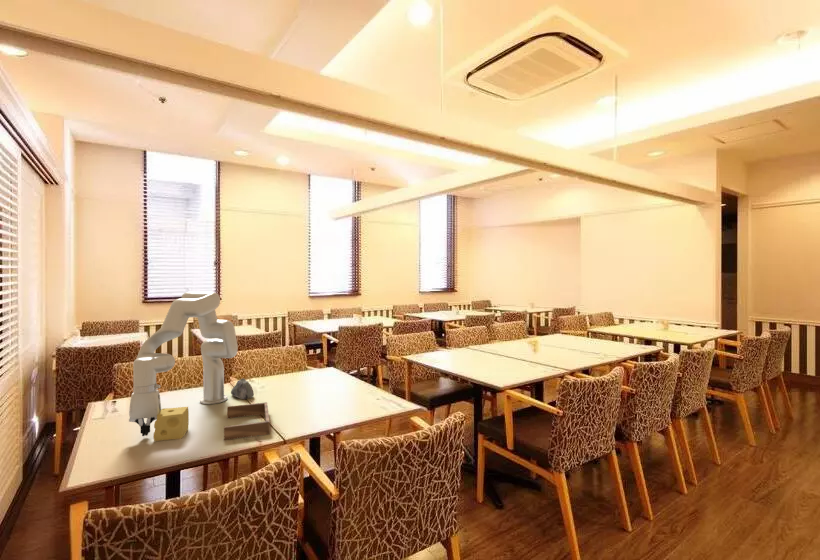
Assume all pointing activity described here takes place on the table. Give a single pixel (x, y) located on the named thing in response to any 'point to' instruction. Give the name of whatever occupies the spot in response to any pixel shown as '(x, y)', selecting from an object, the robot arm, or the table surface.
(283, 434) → the table surface
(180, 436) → the cheese
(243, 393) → the mineral rock
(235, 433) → the wooden u-shaped bracket
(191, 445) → the table surface
